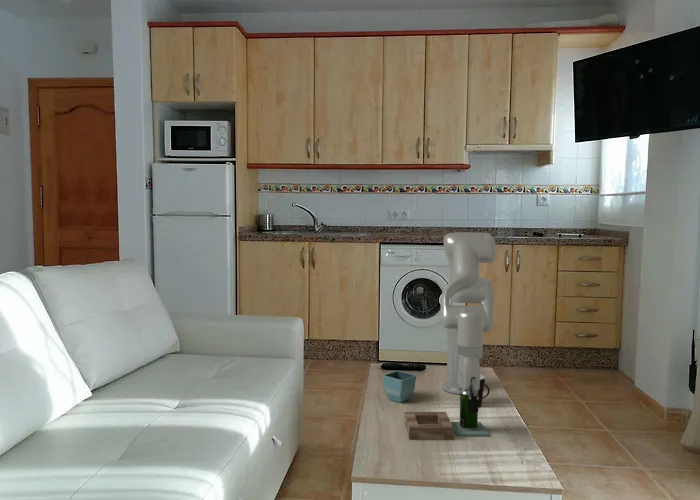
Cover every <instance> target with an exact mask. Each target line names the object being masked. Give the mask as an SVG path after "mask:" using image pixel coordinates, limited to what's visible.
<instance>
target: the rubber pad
mask: <svg viewBox="0 0 700 500" xmlns="http://www.w3.org/2000/svg"><path fill="white" fill-rule="evenodd" d="M451 423H452V425H453V427H454V437H490V433H489V432H488V431H487V429H486V428H485V426H484V425H483V423H482V421H478V426H477V429H476V430H473V431H467V430H463V429H462V428H461V427H460V421H451Z"/></svg>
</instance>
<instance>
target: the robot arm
mask: <svg viewBox="0 0 700 500" xmlns="http://www.w3.org/2000/svg"><path fill="white" fill-rule="evenodd" d="M443 248H444V249H443V250H444V253H445V256H446V258H447V260H448V264H449V282H448V284H447V285H446V286H445V288H444V289H443V291H442V292H441V297H440V323H441V325H442V326H443V327H444V328H445V329H446V333H447V334H446V335H447V341H446V342H447V345H446V346H447V348H446V349H447V353H446V382H445V383H443V384H442V389H443V391H445V392H448V393H450V394H455V395H460V391H461V388H462V390H464V391H466V390H467V391H468V399H467V412H478V413H479V407H478V390H479V388H480V374H481V367H480V366H481V365H480V359H481V358H483V354H484V353H483V351H484V350H483V349H484V348H483V347H484V346H483V345H484V344H483V342H484V340H483V339H484V333H490V332H492V330H493V327H494V285H493V283H492V281H491V280H490V279H488V278H483V277H480V264H483V263H484V264H491V263H494V262H495V261H496V258H497V251H498V250H497V245H496V242H495V239H494V237H493V235H492V234H491V233H488V232H473V231H472V232H470V231H469V232H468V231H465V232H464V231H463V232H462V231H459V232H458V231H456V232H450V233H446V234H445V235H444V237H443ZM450 299H451V301H453V302H454V303H458V305H455V304H453V305H452V304H451V305H450ZM459 303H460V304H478V305H480V306H478V305H459ZM470 392H472V393H471V394H470Z"/></svg>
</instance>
